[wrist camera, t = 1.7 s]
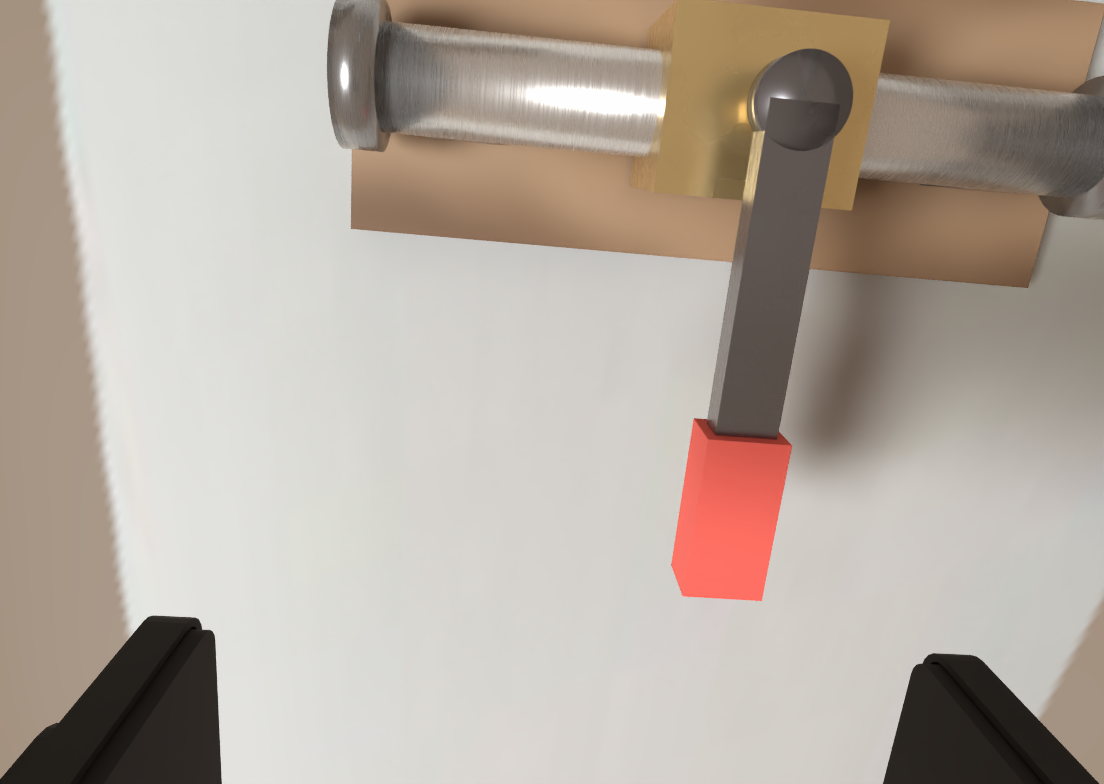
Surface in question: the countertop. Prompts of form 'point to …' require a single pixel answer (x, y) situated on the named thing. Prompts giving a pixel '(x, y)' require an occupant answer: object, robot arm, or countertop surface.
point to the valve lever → (760, 330)
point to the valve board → (713, 222)
